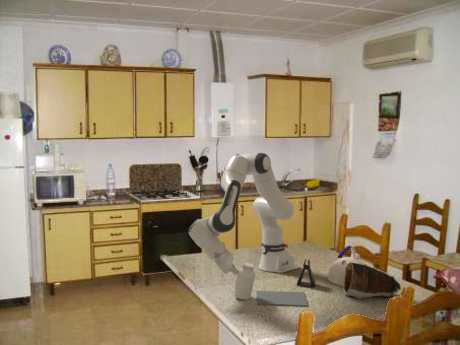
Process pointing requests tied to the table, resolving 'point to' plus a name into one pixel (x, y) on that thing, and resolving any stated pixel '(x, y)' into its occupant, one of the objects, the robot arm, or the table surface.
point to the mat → (281, 298)
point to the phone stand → (312, 280)
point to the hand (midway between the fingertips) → (236, 273)
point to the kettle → (342, 266)
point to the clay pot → (368, 282)
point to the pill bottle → (244, 281)
